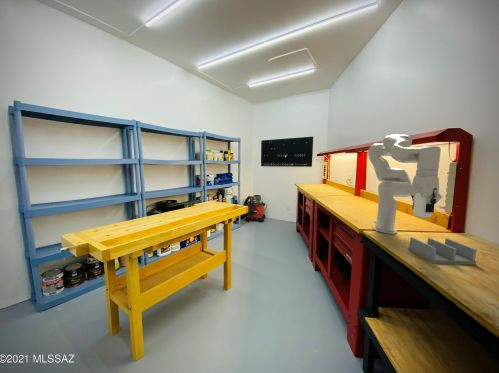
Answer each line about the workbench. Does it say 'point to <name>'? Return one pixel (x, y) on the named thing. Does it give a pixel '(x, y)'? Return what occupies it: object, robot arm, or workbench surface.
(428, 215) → the can
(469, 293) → the workbench surface
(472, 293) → the workbench surface
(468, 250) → the rack
